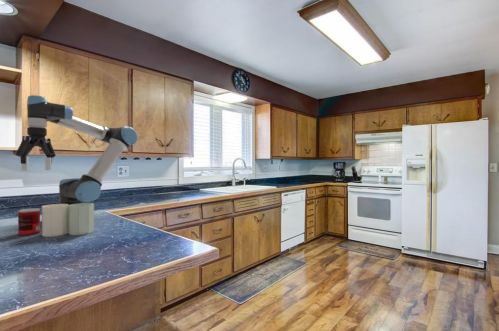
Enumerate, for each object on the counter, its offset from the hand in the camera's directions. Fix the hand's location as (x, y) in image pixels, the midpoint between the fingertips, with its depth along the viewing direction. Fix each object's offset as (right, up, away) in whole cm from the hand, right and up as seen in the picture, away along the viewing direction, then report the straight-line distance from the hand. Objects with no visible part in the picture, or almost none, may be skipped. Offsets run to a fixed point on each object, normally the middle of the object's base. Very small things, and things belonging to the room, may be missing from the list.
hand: (37, 170), depth 131 cm
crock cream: (+17, -29, -11) cm, 35 cm away
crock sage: (+27, -29, -8) cm, 40 cm away
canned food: (+4, -29, -10) cm, 31 cm away
